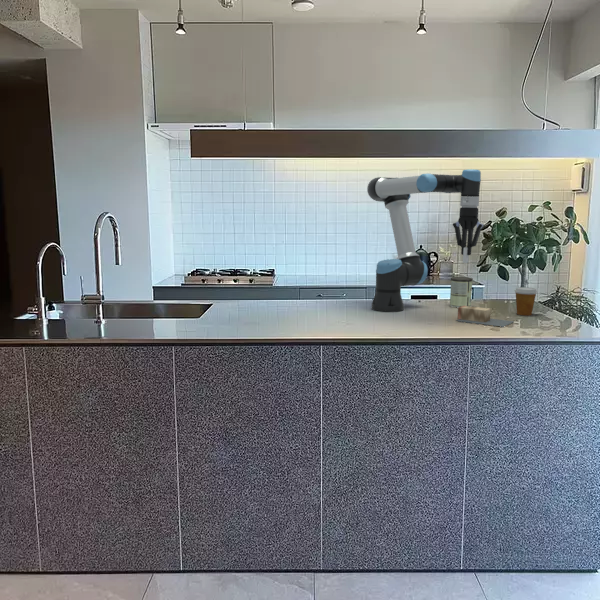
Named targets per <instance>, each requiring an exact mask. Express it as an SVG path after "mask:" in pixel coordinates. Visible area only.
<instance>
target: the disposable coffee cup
mask: <svg viewBox="0 0 600 600" xmlns="http://www.w3.org/2000/svg"><path fill="white" fill-rule="evenodd" d="M514 293H515V305H516V315H519V316H527V317H528V316H533V315H532V314H533V310H534V304H535V300H536V294H537V293H538V290H537V288H534V287H526V286H525V287H524V286H518V287H515V290H514Z"/></svg>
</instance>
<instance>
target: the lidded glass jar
mask: <svg viewBox="0 0 600 600" xmlns="http://www.w3.org/2000/svg"><path fill="white" fill-rule="evenodd" d="M472 290H473V278H472V277H467V276H452V277H450V296H449V297H450V298H449V307H450V306H451V308H454V307H457V308H456V309H458V307H461V306H471V307H472V296H473V294H472V293H473V292H472Z"/></svg>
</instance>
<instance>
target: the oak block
mask: <svg viewBox="0 0 600 600" xmlns="http://www.w3.org/2000/svg"><path fill="white" fill-rule="evenodd" d="M491 311H492V310H491V308H488V307H478V306H472V305H471V306H461V307H458V308H457V320H458V319H462V320H470V321H478V322H487V321H490V319H491Z"/></svg>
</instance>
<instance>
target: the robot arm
mask: <svg viewBox="0 0 600 600" xmlns="http://www.w3.org/2000/svg"><path fill="white" fill-rule="evenodd" d="M481 175H482V173H481V170H480V169H472V168H471V169H463V170H462V172H461V174H435V173H422V174H420V175H413V176H411V175H410V176H405V177H404V176H403V177H386V176H385V177H381V176H378V177H374V178H372V179H371V180H370V181H369V183H367V184H368V185H367V194H368V196H369V198H370V199H371V200H373V201H376V202H382V203H384V204H383V205H384V207H385V209H387V210H388V212H389V218H390V222H391V227H392V232H393V238H394V242H395V247H396V248H395V249H396V253H397V258H391V259H389V258H387V259H383V260H379V261H378V262H377V263H376V269H375V294H374V296H373V299H372V302H371V310H373V309H374V310H373V311H377V310H378V312H388V313H389V312H392V313H393V312H402V311H403V310H405V308H404V307H405V306H404V305H405V304H404V301H403V298H402V294H401V290H402V289H401V287H408V286H412V287H414V286H417V285H421V284H423V283H424V282H425V281H426V279H427V277H428V272H429V271H428V270H429V269H428V266H427V265H428V264H426V263H425V262H424V261H423V260H421V255H419V254H418V253H417V252H416V247H415V243H414V237H413V233H412V229H411V223H410V218H409V214H408V213H409V212H408V210H407V209H408V208H407V206H408V205H409V203H410V202H409V200H410V198H411V195H413V194H425V193H427V194H428V193H444V194H456V193H460V203H459V205H460V208H459V217H458V220H457V221H456V222H453V223H452V226H453V229H454V233H455V238H456V244H457V246H458V247H461V250H460V253H461V254H460V255H461V256H462V264H467V263H469V259H470V256H471V254H472V248H473V247H476V246H477V243H478V240H479V237H480V234H481V232H482V231H481V230H482V229H483V227H484V226H485V225H484V224H483V223H481V222H480V221H479V206H480V205H479V204H480V190H481V182H482V178H481V177H482V176H481ZM460 227H461V229H460ZM475 227H476V229H475V232H474V228H475Z"/></svg>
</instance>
